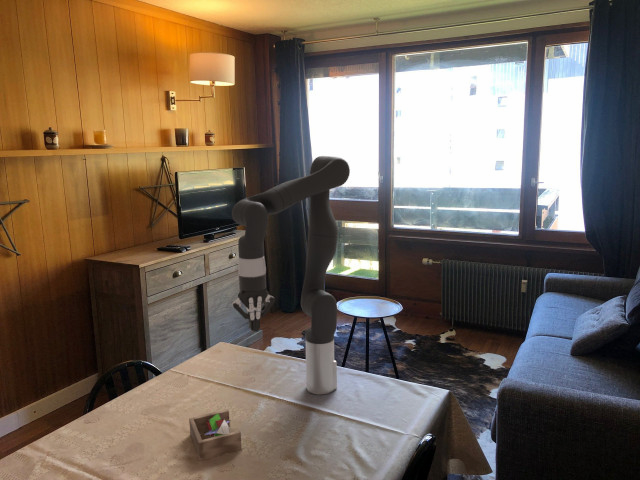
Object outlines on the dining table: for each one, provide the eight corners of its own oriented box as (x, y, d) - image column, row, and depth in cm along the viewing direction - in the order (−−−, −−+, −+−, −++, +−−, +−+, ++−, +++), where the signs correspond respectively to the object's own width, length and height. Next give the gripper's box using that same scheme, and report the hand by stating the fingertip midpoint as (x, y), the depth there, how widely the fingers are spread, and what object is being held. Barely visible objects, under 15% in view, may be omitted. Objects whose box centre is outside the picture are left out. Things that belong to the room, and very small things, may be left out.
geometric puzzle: (194, 433, 141) (207, 415, 138) (210, 420, 147) (222, 403, 144) (212, 452, 140) (226, 435, 136) (227, 439, 146) (240, 422, 142)
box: (228, 425, 149) (228, 409, 148) (241, 449, 137) (240, 432, 136) (190, 434, 144) (189, 418, 143) (200, 460, 133) (198, 443, 132)
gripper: (270, 266, 150) (272, 323, 154) (225, 272, 145) (228, 330, 148) (279, 272, 143) (281, 331, 147) (232, 278, 138) (235, 339, 141)
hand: (254, 330), depth 147 cm, fingers closed
